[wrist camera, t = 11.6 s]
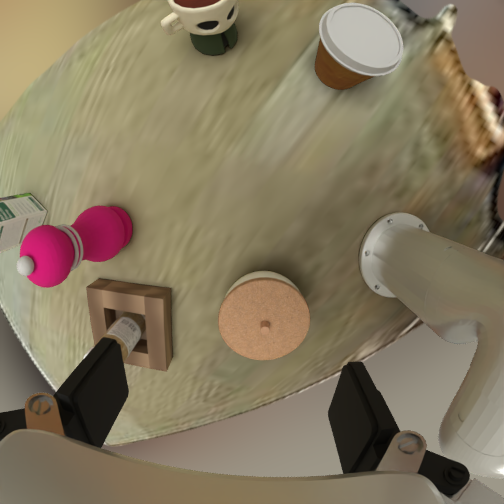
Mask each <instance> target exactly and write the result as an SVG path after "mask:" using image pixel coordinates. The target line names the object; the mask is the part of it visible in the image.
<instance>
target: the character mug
mask: <svg viewBox="0 0 504 504" xmlns="http://www.w3.org/2000/svg"><path fill="white" fill-rule="evenodd" d="M167 1H168V3H169V5H170V6H171V8H172V10H173V13H171V14H170V15H168V16H167V17H165V18H164V19H163V20H162V21H161V26H162V28H163V29H164V31H165V32H166V34H168V35H172V34H174V33H176V32H177V31H179V30H180V29H182V28H183V29H185V30H187V31H188V32H190V36H191V40H192V43H193V45H194V47H195V49H197V50H198V51H200V52H201V53H203V54H209V55H217V54H222V53H224V52H225V49H224V47H225V46H227V45H228V44H229V46H230V48H232V47H233V46H234V44H235V43H236V41H237V29H236V26H235V24H234V22H235V19H236V17H237V15H238V11H239V4H238V0H167ZM176 19H177V20H178V22H177V23H176V24H174V25H173V26H171V23H172V22H173V21H175V20H176Z"/></svg>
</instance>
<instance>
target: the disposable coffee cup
mask: <svg viewBox="0 0 504 504" xmlns="http://www.w3.org/2000/svg"><path fill="white" fill-rule="evenodd" d="M319 34H320V41H319V46H318V51H317V56H316V61H315V72H316V74H317V76H318V77H319V79H320V80H321V81H322V82H323V83H324V84H325V85H327V86H329V87H331V88H334V89H338V90H344V89H348V88H351V87H352V86H354V85H357V84H359V83H361V82H363V81H365V80H367V79H370V78H372V77H374V76H383V75H386V74H389V73H391V72H392V71H394V70H395V69H396V68H397V67H398V66H399V64H400V62H401V59H402V53H403V41H402V37H401V35H400V33H399V31H398V29H397V28H396V26H395V25H394V24H393V23H392V21H391V20H390V19H389V18H387V17H386V16H385V15H384V14H382V13H381V12H379V11H378V10H376V9H374V8H372V7H369V6H367V5H363V4H359V3H344V4H341V5H338V6H336V7H334V8H331V9H329V10H328V11H327V12H326V13H325V14H324V15H323V16H322V18H321V20H320V23H319Z"/></svg>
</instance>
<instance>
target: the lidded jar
mask: <svg viewBox="0 0 504 504" xmlns="http://www.w3.org/2000/svg"><path fill="white" fill-rule="evenodd" d="M218 325H219V330H220V333H221V335H222V338H223V339H224V341H225V342H226V344H227V345H228V346H229V347H230V348H231V349H233V350H234V351H235V352H237V353H238V354H240V355H242V356H245V357H247V358H251V359H256V360H270V359H276V358H279V357H282V356H284V355H287V354H288V353H290V352H292V351H293V350H294V349H295V348H297V347H298V346H299V345H300V344H301V342H302V341H303V340H304V338H305V337H306V334H307V332H308V329H309V325H310V312H309V308H308V305H307V303H306V301H305V299H304V297H303V296H302V294H301V293H300V291H299V290H298V288H297V287H296V286H295V285H294V284H293V283H292V282H291V281H290V280H289V279H287V278H286V277H284V276H283V275H280V274H278V273H275V272H271V271H257V272H252V273H249V274H247V275H245V276H243V277H241V278H240V279H239V280H237V281H236V282H235V283H234V284H233V285H232V286H231V288H230V289H229V290H228V292H227V294H226V296H225V298H224V300H223V303H222V305H221V307H220V311H219V316H218Z"/></svg>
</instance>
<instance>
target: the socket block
mask: <svg viewBox="0 0 504 504" xmlns="http://www.w3.org/2000/svg"><path fill="white" fill-rule="evenodd" d="M86 289H87V298H88V306H89V313H90V320H91V326H92V333H93V338H94V344H95V345H96V343H97V342H98V341H99V340H100V339H101V337H102V336H103V335H104V334H105V333H106V332H107V330H108V329H109V327H110V326H111V325H112V324H113V323H114V322H115V321H116V320H117V319H118V318H119V317H120V316H121V315H122V313H123V311H126V312H132V313H138V314H144V315H145V322H146V331H145V332H143V334H142V335H141V337H140V339H139V341H138V342H137V344H136V345H135V347H134V348H133V350H132V351H131V353H130V354H129V356H128V357H127V359H126V360H125V361H124V363H126V364H131V365H135V366H140V367H145V368H150V369H156V370H161V371H167V370H168V367H169V365H170V362H171V360H172V358H173V349H172V320H171V288H165V287H157V286H150V285H142V284H135V283H128V282H121V281H114V280H107V279H101V278H99V279H97V280H96V281H94V282H93V283H92V284H90V285H89V286H87V287H86Z"/></svg>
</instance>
